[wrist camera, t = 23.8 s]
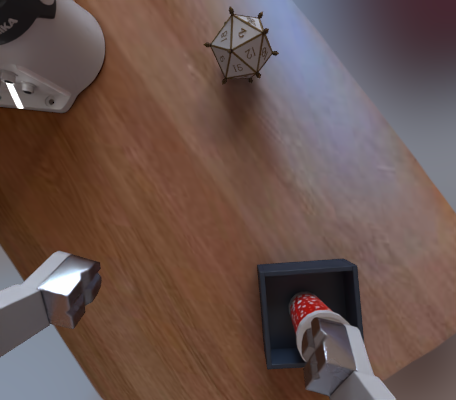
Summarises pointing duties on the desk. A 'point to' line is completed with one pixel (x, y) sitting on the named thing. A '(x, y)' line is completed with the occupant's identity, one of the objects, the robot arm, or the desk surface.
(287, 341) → the tote
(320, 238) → the desk surface
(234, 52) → the game die
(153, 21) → the desk surface
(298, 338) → the beverage cup
